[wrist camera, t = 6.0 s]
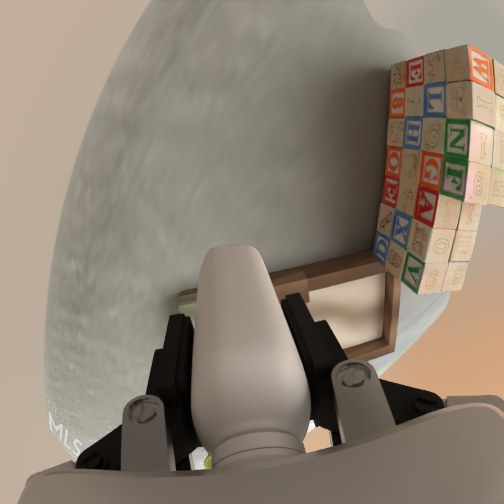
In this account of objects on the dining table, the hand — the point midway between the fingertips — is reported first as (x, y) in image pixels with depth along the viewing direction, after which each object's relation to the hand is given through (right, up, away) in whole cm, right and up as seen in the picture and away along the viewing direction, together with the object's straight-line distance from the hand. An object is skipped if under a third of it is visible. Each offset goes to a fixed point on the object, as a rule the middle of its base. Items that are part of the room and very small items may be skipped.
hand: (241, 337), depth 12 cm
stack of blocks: (+17, +13, +17) cm, 27 cm away
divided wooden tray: (+6, -5, +23) cm, 25 cm away
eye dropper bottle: (0, +1, +3) cm, 3 cm away
